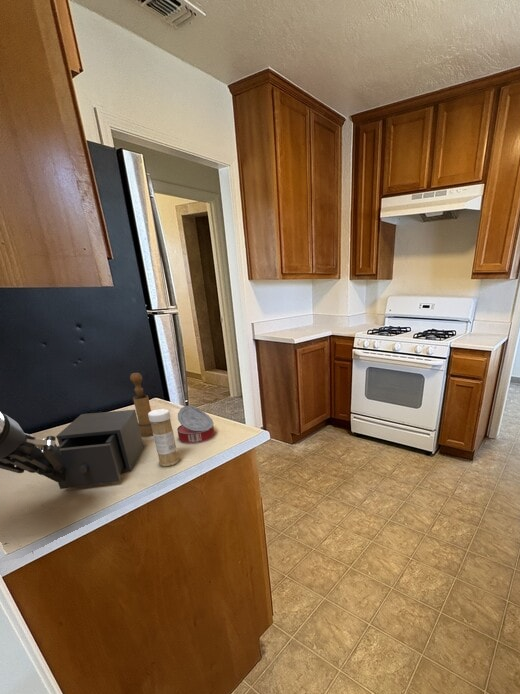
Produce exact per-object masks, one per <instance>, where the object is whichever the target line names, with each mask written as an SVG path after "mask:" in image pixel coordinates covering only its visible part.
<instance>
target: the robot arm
mask: <svg viewBox="0 0 520 694" xmlns="http://www.w3.org/2000/svg"><path fill="white" fill-rule="evenodd" d="M56 439H57V437H56V436H54V435H47V436H46V437H43V438H40V439H39V438H36V437H35V436H34V435H33V434H30V433H25V432H24V430H23V429H22V427H21V425H20V424H19V423H18V422H17V421H16V420H15V419H13V418H11V417H10V416H8V415H7V414H6V413H4V412H2V411H0V469H1V470H5V471H8V472H12V473H16V474H23V473H25V471H26V472H28V473H31V474H38V475H40V476H44V477H46V478H48V479H50V480H52V481H54V482H56V483H58V482H63V481H65V479H66V468H65V467H63V465H62V464H63V454H62V453H61V451H60V450H59V448H58V445H57V444H56Z"/></svg>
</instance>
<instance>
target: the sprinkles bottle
mask: <svg viewBox="0 0 520 694" xmlns="http://www.w3.org/2000/svg"><path fill="white" fill-rule="evenodd" d="M148 417H149V421H150V423H151V426H152V430H153V435H152V436H153V440H154V441H153V442H154V445H155V448H156V450H155V451H156V453H157V457H158V460H159V461H158V462H159V466H162V467H171V466H174V465H176V464H178V463H179V461H180V459H179V455H178V452H177V443H176V439H175V434H174V429H173V427H172V421H171V411H170V410H169V409H167V408H158V409H153V410H151V412H149V413H148Z"/></svg>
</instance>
